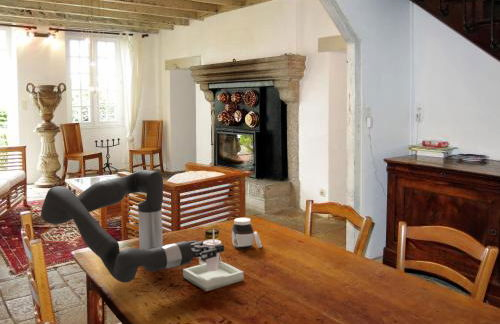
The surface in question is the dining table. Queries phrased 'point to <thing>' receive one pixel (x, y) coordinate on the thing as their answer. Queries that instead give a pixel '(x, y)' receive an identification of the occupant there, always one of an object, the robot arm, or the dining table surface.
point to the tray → (213, 276)
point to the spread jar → (244, 234)
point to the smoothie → (213, 262)
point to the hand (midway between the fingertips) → (217, 245)
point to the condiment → (208, 237)
